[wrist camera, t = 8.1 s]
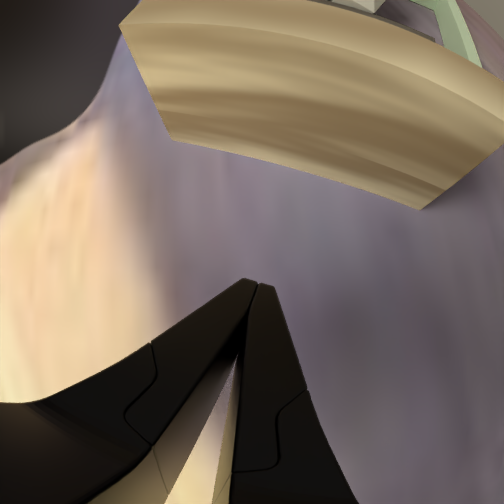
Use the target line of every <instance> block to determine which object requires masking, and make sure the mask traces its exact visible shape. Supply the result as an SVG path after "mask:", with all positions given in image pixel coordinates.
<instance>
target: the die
mask: <svg viewBox="0 0 504 504" xmlns="http://www.w3.org/2000/svg"><path fill="white" fill-rule="evenodd" d="M326 1H330V2H334V3H338V4H342V5H345V6H349V7H353V8H356V9H359V10H363V11H366V12H369V13H372V14H374V13H375V12H376V11H377V10H378V8H379V7H380V6H381V5H382V4H383V3H384V2H385V0H326Z"/></svg>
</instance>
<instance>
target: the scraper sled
mask: <svg viewBox="0 0 504 504" xmlns="http://www.w3.org/2000/svg"><path fill="white" fill-rule="evenodd" d="M119 27H120V29H121V31H122V34H123V36H124V38H125V40H126V43H127V45H128V47H129V49H130V51H131V54H132V56H133V58H134V60H135V62H136V65H137V67H138V69H139V71H140V73H141V75H142V78H143V80H144V82H145V84H146V86H147V88H148V90H149V93H150V95H151V97H152V99H153V101H154V103H155V105H156V108H157V110H158V112H159V114H160V116H161V118H162V120H163V122H164V124H165V127H166V129H167V131H168V133H169V135H170V137H171V139H172V140H174V141H180V142H185V143H190V144H195V145H200V146H204V147H209V148H214V149H218V150H223V151H227V152H231V153H236V154H240V155H244V156H248V157H252V158H256V159H260V160H264V161H268V162H272V163H276V164H279V165H283V166H287V167H290V168H294V169H297V170H301V171H304V172H308V173H311V174H315V175H318V176H321V177H325V178H328V179H331V180H334V181H337V182H341V183H344V184H347V185H350V186H353V187H356V188H359V189H362V190H365V191H368V192H371V193H374V194H377V195H379V196H382V197H385V198H388V199H391V200H393V201H396V202H399V203H402V204H404V205H407V206H410V207H412V208H415V209H417V210H421V209H422V208H424V207H425V206H426V205H428V204H429V203H430V202H432V201H433V200H434V199H436V198H437V197H438V196H439V195H441V194H442V193H443V192H445V191H446V190H447V189H449V188H450V187H451V186H452V185H454V184H455V183H456V182H457V181H459V180H460V179H461V178H463V177H464V176H465V175H466V174H468V173H469V172H470V171H471V170H472V169H474V168H475V167H476V166H477V165H479V164H480V163H481V162H482V161H483V160H485V159H486V158H487V157H488V156H489V155H491V154H492V153H493V152H494V151H495V150H497V149H498V148H499V147H500V146H501V145H502V144H504V82H503V81H502V80H500V79H499V78H497V77H495V76H494V75H492V74H491V73H489V72H488V71H486V70H484V69H483V68H481V67H479V66H478V65H476V64H474V63H473V62H471V61H469V60H467V59H465V58H464V57H462V56H460V55H458V54H456V53H454V52H452V51H451V50H449V49H447V48H445V47H443V46H441V45H438V44H436V43H435V38H433V37H430V36H428V35H426V34H424V33H422V32H419V31H417V30H415V29H412V28H410V27H407V26H405V25H402V24H400V23H397V22H395V21H392V20H389V19H387V18H384V17H381V16H378V15H375V14H372V13H369V12H366V11H363V10H359V9H356V8H353V7H349V6H345V5H342V4H338V3H334V2H330V1H326V0H142V1H141V2H140V3H139V4H138V5H137V6H136V7H135V8H134V9H133V11H132V12H130V14H129V15H128V16H127V17H126V18H125V19H124V20H123V21H122V22H121V23H120V24H119Z"/></svg>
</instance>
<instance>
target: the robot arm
mask: <svg viewBox="0 0 504 504" xmlns="http://www.w3.org/2000/svg"><path fill="white" fill-rule="evenodd" d="M237 355H238V356H237ZM236 358H237V360H236ZM235 361H236V364H235V369H234V375H233V381H232V387H231V393H230V399H229V405H228V411H227V417H226V422H225V428H224V434H223V440H222V446H221V452H220V458H219V464H218V470H217V475H216V481H215V487H214V493H213V499H212V504H359V503H358V501H357V500H356V498H355V496H354V494H353V493H352V491H351V489H350V486H349V484H348V482H347V480H346V478H345V476H344V474H343V472H342V470H341V468H340V466H339V464H338V462H337V460H336V458H335V456H334V454H333V451H332V449H331V447H330V445H329V443H328V441H327V438H326V436H325V434H324V432H323V429H322V427H321V425H320V422H319V420H318V417H317V414H316V411H315V408H314V406H313V403H312V400H311V396H310V393H309V391H308V390H307V384H306V381H305V378H304V375H303V372H302V369H301V366H300V363H299V360H298V357H297V354H296V350H295V347H294V344H293V341H292V338H291V335H290V332H289V329H288V326H287V323H286V320H285V317H284V314H283V311H282V308H281V305H280V302H279V299H278V296H277V293H276V290H275V287H274V286H271V285H267V284H264V283H259V284H258V283H257V282H256V281H253V280H249V279H246V278H242V279H240V280H239V281H237V282H236V283H235V284H233V285H232V286H230V287H229V288H227V289H226V290H224V291H223V292H222V293H220V294H219V295H217V296H216V297H214V298H213V299H211V300H210V301H209V302H207V303H206V304H204V305H203V306H201V307H200V308H198V309H197V310H196V311H194V312H193V313H191V314H190V315H188V316H187V317H185V318H184V319H182V320H181V321H180V322H178V323H177V324H175V325H174V326H172V327H171V328H169V329H168V330H166V331H165V332H163V333H162V334H161V335H159V336H158V337H156V338H155V339H153V340H152V341H151V344H150V343H147V344H145V345H144V346H143V347H141V348H140V349H138V350H137V351H135V352H133V353H132V354H130V355H129V356H127V357H125V358H124V359H122V360H121V361H119V362H117V363H115V364H114V365H112V366H110V367H108V368H106V369H104V370H102V371H101V372H99V373H97V374H95V375H93V376H91V377H89V378H87V379H84V380H82V381H80V382H78V383H76V384H74V385H72V386H70V387H68V388H66V389H64V390H62V391H60V392H58V393H55V394H53V395H51V396H49V397H46V398H43V399H40V400H37V401H32V402H25V403H4V402H0V504H164V503H165V501H166V499H167V497H168V495H169V494H170V492H171V490H172V488H173V486H174V484H175V482H176V480H177V478H178V476H179V474H180V473H181V471H182V469H183V467H184V465H185V463H186V461H187V459H188V457H189V455H190V453H191V451H192V449H193V447H194V445H195V443H196V441H197V439H198V437H199V435H200V433H201V431H202V429H203V427H204V425H205V423H206V421H207V419H208V417H209V415H210V413H211V411H212V409H213V407H214V405H215V403H216V401H217V399H218V397H219V395H220V393H221V391H222V389H223V387H224V385H225V382H226V380H227V378H228V376H229V374H230V372H231V370H232V368H233V365H234V363H235Z"/></svg>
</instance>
